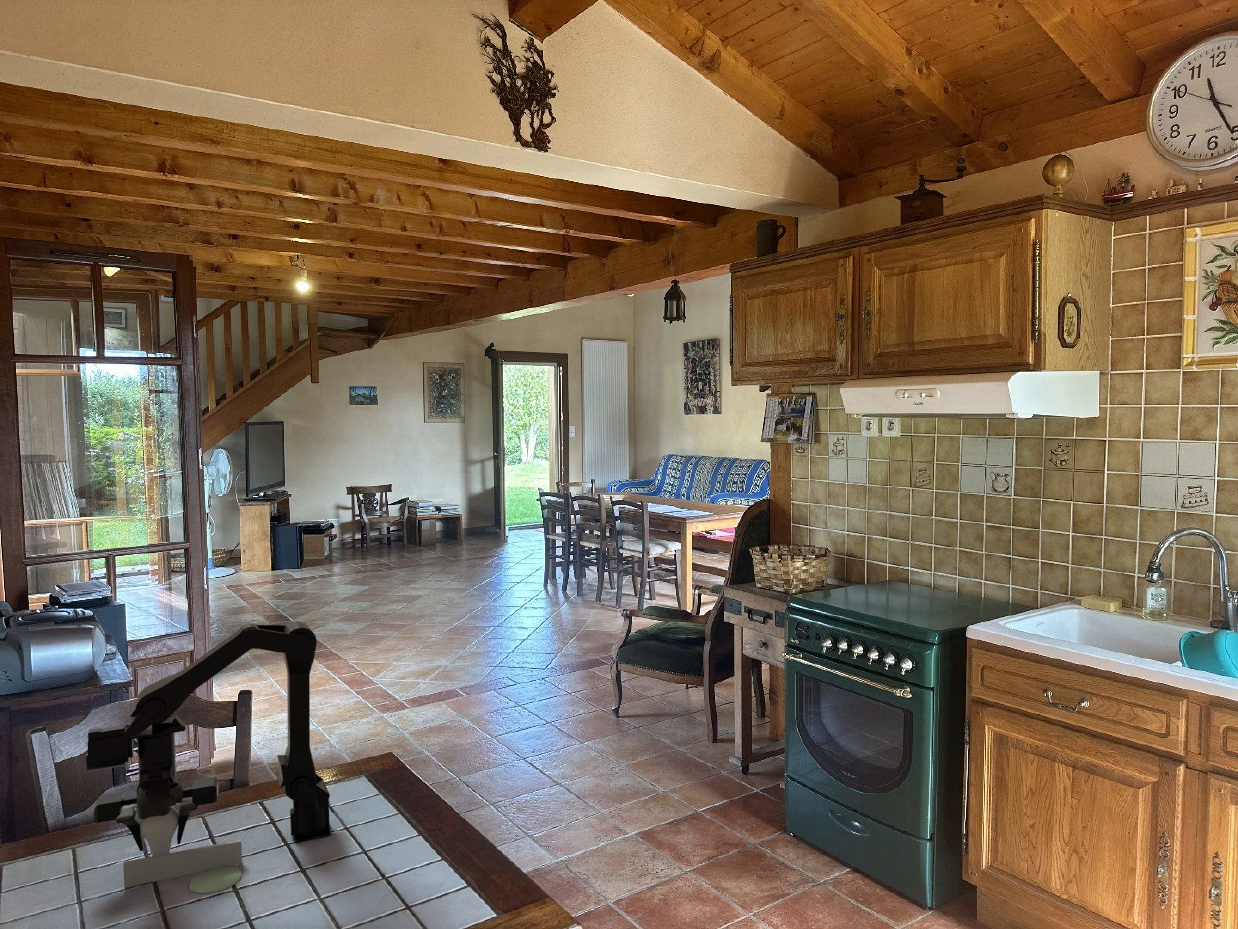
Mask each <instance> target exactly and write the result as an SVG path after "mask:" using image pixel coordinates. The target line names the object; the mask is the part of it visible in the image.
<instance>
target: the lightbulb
mask: <svg viewBox="0 0 1238 929" xmlns="http://www.w3.org/2000/svg"><path fill="white" fill-rule="evenodd" d="M178 823H179V812H178V810H177V809H176V808H175V807H174V806H171V810H170V812H169V813H168V814H167V815H165V816H154V817H149V818H147V819H141V820H140V831H141V833H142V835H143V838H144V839H145V840H146V842H147V843H148V846H149V850H150V855H151V857H152V856H157V855H163V854H168V853H170V851H171V849H172V841H173V837H174V835H175V833H176V831H177V830H178Z"/></svg>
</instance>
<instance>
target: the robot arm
mask: <svg viewBox="0 0 1238 929" xmlns="http://www.w3.org/2000/svg"><path fill="white" fill-rule="evenodd" d="M317 643H318V641H317V636H316V634H315V633H314V632H313V630H312V629H311V627H310V626H309V625H308V624H307V623H304V622H302V621H294V622H291V623H288V624H286V625H285V624H258V623H257V624H255V623H251V622H250V623H245V624H243V625H242V626H240V628H238V630H236V631H235V632H234V633H232V634H231V635H230V636H228V637H227V638H226V639H224V640H223V641H221V642H220V643H218V644H216V645H215V646H214V647H213V648H212V649H210V650H208V652H206V653H204V654H203V655H201V656H200V657H199V658H198V659H197V658H196V660H194V661H193V662H192V663H190V664H189V665H188V666H186V667H185V668H183V669H181V670H180V671H178V672H176V673H173V674H171V675H168V676H165V677H163V678H161V679H158V680H157V681H155V682H153V683H151V684H149V685H147V686H146V687H144V688H143V689H142V690H140V692H139V694H138V695H137V699H136V703H135V708H134V710H133V711H132V713H131V714H130V715H129V716H128V717H127V719H126V721H125V724H123V725H117V726H111V727H104V728H103V727H102V728H100V727H99V728H98V727H97V728H96V727H95V728H90V729H89V730H88V732H87V751H86V754H85V758H86V760H85V761H86V769H87V770H86V771H87V772H89V773H90V772H95V771H100V770H106V769H111V768H117V767H123V766H127V763H129V762H130V759H134V754H135V753H134V752H135V750H134V748H135V747H134V740H136V741H137V745H136V746H137V761H138V762H137V763H138V764H137V766H138V768H137V769H138V785H137V788H136V795H135V796H129V797H126V792H125V791H118V792H111V793H105V794H102V795H101V796H100V797H99V798H98V799H97V801H96V804H95V805H94V808H93V820H94V823H97V824H99V823H104V822H110V821H111V822H112V821H115V823H116V824H118V825H119V824H123V825H124V826H126V827H127V829H128V831H129V832H130V833H131V835H132V837H133V839H134V841H135V843H136V845H137V848H138V850H139V851H140V852H144V848H145V847H144V845H145V844H144V843H145V840H144V839H145V838H144V836H143V835H142V833H141V831H140V820H141V819H147V818H149V817H154V816H165V815H167V814H168V813H169V812H170V810H171V806H173V807H174V806H176V805H178V804H180V806H179V807H180V808H179V810H178V811H179V812H178V814H179V823H178V826H177V834H176V840H177V842H176V843H177V844H176V845H181V842H182V839H183V838H182V837H183V836H184V831H185V828H186V824H187V823H188V820H189V818H190V815H191V813H192V812H193V811H197V810H199V807H200V806H203V805H208V804H214V803H216V802H217V801H218V798H219V779H218V778H217V777H216V776H211V777H205V778H200V779H194V780H193V783H192V786H190V787H189V786H188V787H184V786H183V782H182V781H177V762H176V760H177V759H176V740H175V738H176V737H175V734H176V733H181V732H185V731H186V730H187V723H186V722H185V721H184V720H182V719H180V717H178V716H177V715H176V714H175V715H174V716H173V717H171V716H172V715H173V714H174V713H175V712H176V711H177V710H178V709H179V708H180V707H181V706H182V705H183V704H184V703H185V701H186V700H187V699H188V698H189V697H190V696H191V695H192V694H193V693H194V691H196V690H197V689H199V687H201V686H202V685H204V684H205V683H206V682H208V681H209V680H211V679H212V678H214V677H215V676H216V675H218V674H219V673H220V672H222V671H223V670H224V669H226V668H227V667H229V666H230V665H231V664H233V663H234V662H236V660H239V659H240V658H241V657H242V656H244V655H245V654H246V653H248V652H249V651H251V650H262V651H268V652H274V653H282V656H283V660H284V664H285V669H286V674H287V675H286V677H287V682H286V683H287V684H286V685H287V686H286V687H287V691H286V692H287V695H286V696H287V700H286V701H287V746H286V750H285V753H284V754H278V755H277V756H276V758H277V762H278V771H277V774H276V777H277V780H278V783H279V787H280V788H281V789H282V788H283V790H284V793H285V796H286V797H287V798H289V799H290V800H292V808H290V809H289V818H290V819H289V821H290V822H289V824H290V836H293V842H294V843H299V842H304V841H309V840H315V839H319V838H320V839H321V838H325V837H328V836H332V829H331V824H330V818H331V817H330V797H331V795H330V791H329V790H328V788H327V785H326V783H325V782H326V781H325V780H324V778H323V777H321V776H320V775H318V774H317V773H316V769H315V765H314V760H313V755H312V751H311V741H310V740H311V735H310V733H311V730H310V729H311V722H310V721H311V720H310V719H311V715H310V711H311V703H310V698H311V696H310V695H311V694H310V693H311V692H310V691H311V690H310V687H311V686H310V681H311V680H310V678H311V677H310V676H311V675H310V673H311V670H312V669H313V668H312V667H313V664H314V661H315V655H316V651H317ZM170 717H171V718H170ZM169 718H170V719H169ZM168 719H169V720H168ZM167 720H168V721H167Z"/></svg>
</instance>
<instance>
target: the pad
mask: <svg viewBox="0 0 1238 929" xmlns="http://www.w3.org/2000/svg"><path fill="white" fill-rule="evenodd" d="M241 878H242V870H241V869H239V868H238V867H233V866H229V867H219V868H214V869H211V870H208V871H204V872H199V873H198V874H197V875H195V876H194V877H193V878H192V879H191V880H189V883H188V889H189V891H191V892H193V893H196V894H211V893H215V892H220V891H224V890H226V889H228V888H230V887H232V886H234V885H235V884H237V883H238V882H239V881H240V880H241Z"/></svg>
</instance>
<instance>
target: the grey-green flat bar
mask: <svg viewBox="0 0 1238 929" xmlns="http://www.w3.org/2000/svg"><path fill="white" fill-rule="evenodd" d="M242 864H243V852H242V839H237V840H230V841H226V842H221V843H216V844H210V845H205V846H200V847H196V848H195V847H194V848H189V849H186V850H178V851H174V852H169V853H168V854H163V855H157V856H152V855H151V856H148V857H142V858H137V859H133V860H132V859H131V860H127V861H124V862H123V865H122V866H123V868H122V869H123V887H124V888H125V889H126V888H128V887H129V888H130V887H134V886H138V885H143V884H148V883H154V882H158V881H162V880H163V881H164V880H168V879H174V878H179V877H183V876H188V875H194V874H200V873H203V872H205V871H208V870H211V869H214V868H219V867H233V866H239V865H242Z"/></svg>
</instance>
